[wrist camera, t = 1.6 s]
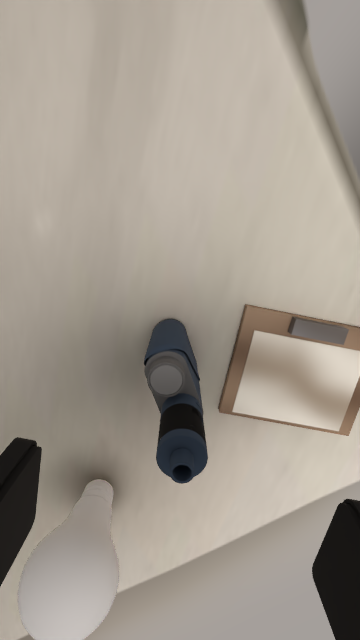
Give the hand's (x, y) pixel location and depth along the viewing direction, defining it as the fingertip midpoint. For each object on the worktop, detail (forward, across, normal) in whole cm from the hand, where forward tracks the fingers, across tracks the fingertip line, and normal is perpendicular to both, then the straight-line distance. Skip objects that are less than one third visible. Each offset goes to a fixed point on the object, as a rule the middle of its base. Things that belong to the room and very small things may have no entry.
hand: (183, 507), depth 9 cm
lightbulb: (+15, +5, +15) cm, 22 cm away
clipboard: (+15, -9, +1) cm, 18 cm away
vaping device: (+16, +1, +1) cm, 16 cm away
